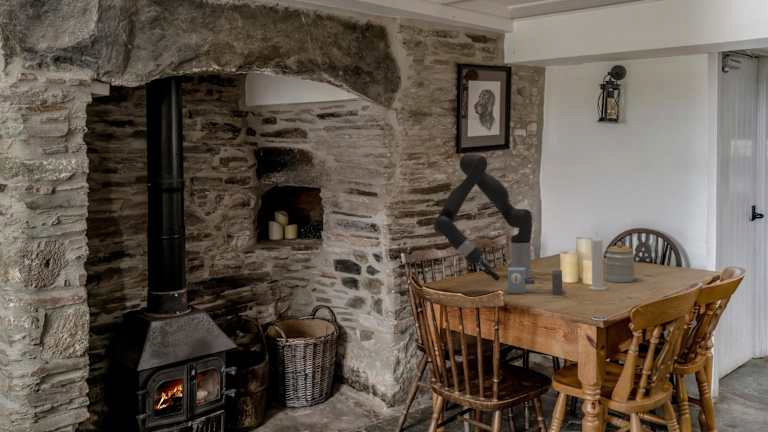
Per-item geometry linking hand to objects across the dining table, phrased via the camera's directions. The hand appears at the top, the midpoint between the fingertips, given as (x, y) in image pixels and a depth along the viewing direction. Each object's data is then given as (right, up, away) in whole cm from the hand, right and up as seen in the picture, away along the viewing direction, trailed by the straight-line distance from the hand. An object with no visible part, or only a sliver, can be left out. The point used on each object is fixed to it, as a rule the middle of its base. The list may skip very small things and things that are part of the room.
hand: (498, 279), depth 312 cm
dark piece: (+14, -6, -2) cm, 15 cm away
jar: (+59, -2, +20) cm, 63 cm away
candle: (+44, -5, +4) cm, 44 cm away
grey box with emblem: (+10, -5, -2) cm, 11 cm away
